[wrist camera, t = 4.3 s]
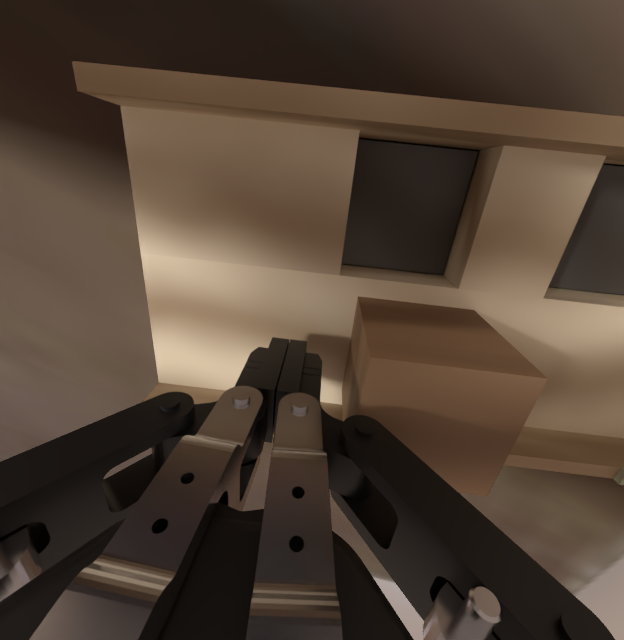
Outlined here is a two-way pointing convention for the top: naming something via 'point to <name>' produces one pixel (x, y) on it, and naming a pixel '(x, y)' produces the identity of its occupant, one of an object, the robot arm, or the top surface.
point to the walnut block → (440, 386)
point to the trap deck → (378, 234)
